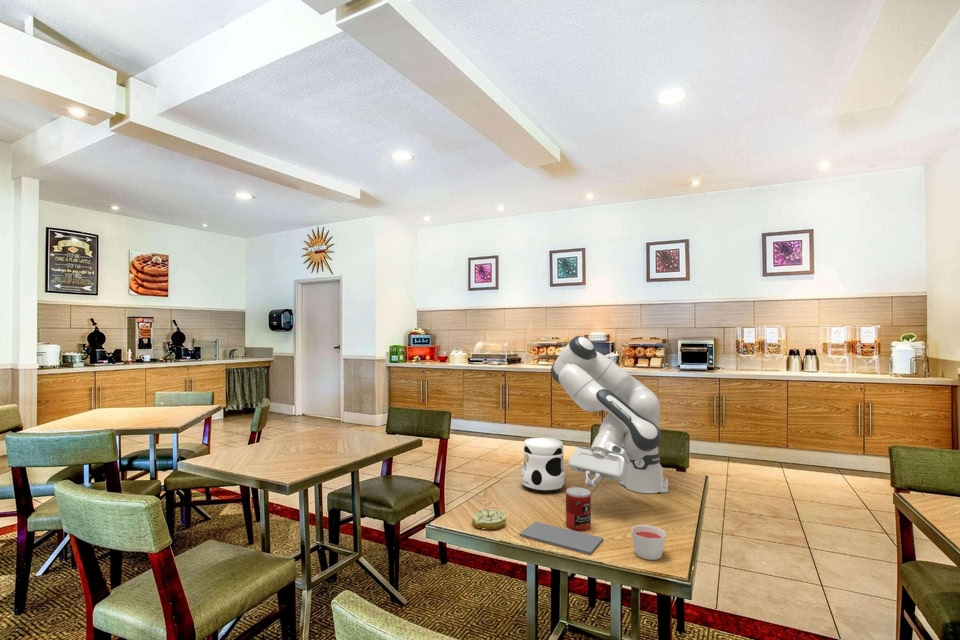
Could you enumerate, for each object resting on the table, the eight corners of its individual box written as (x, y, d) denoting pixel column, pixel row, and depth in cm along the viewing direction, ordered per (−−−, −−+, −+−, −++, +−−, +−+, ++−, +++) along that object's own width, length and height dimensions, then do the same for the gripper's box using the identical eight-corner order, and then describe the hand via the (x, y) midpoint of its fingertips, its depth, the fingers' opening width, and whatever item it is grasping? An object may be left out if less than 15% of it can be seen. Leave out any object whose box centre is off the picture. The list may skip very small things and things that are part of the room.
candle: (637, 544, 138) (637, 522, 138) (669, 553, 133) (669, 530, 133) (626, 556, 131) (626, 532, 131) (660, 565, 126) (660, 541, 126)
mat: (535, 523, 152) (535, 521, 152) (603, 540, 140) (603, 537, 141) (519, 536, 143) (519, 533, 143) (590, 555, 131) (590, 552, 131)
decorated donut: (471, 519, 156) (471, 507, 157) (503, 518, 157) (503, 506, 158) (473, 532, 146) (473, 519, 146) (508, 531, 147) (508, 518, 147)
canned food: (576, 533, 146) (576, 496, 146) (560, 523, 153) (560, 489, 153) (596, 528, 149) (596, 493, 149) (579, 519, 156) (579, 485, 156)
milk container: (513, 483, 193) (514, 438, 193) (551, 479, 199) (552, 435, 200) (533, 497, 177) (533, 448, 177) (574, 492, 183) (574, 445, 183)
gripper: (574, 439, 171) (559, 472, 164) (628, 450, 157) (614, 487, 150) (580, 450, 174) (565, 483, 167) (634, 461, 161) (620, 498, 153)
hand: (589, 485), depth 158 cm, fingers closed
